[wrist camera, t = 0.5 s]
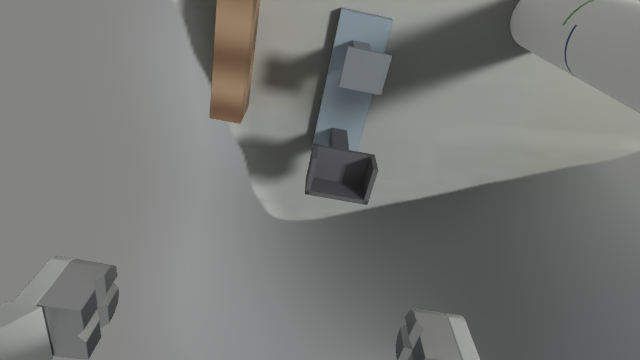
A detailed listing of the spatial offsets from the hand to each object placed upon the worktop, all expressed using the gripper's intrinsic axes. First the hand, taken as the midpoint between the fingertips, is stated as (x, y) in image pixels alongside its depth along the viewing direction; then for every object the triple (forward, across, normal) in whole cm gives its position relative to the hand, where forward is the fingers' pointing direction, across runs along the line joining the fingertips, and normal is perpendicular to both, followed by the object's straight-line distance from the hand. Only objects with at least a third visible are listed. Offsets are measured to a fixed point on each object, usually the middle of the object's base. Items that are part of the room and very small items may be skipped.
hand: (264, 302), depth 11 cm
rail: (+42, +8, +4) cm, 43 cm away
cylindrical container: (+42, -26, -6) cm, 50 cm away
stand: (+42, -6, +6) cm, 43 cm away
